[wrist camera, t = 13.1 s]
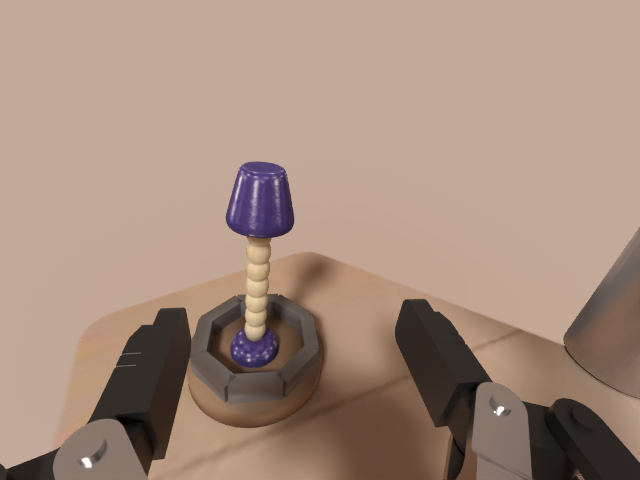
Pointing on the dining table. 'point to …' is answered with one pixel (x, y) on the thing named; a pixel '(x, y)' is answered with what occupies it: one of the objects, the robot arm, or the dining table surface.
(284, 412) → the plinth
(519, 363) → the dining table surface
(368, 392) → the dining table surface
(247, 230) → the toy lamp
